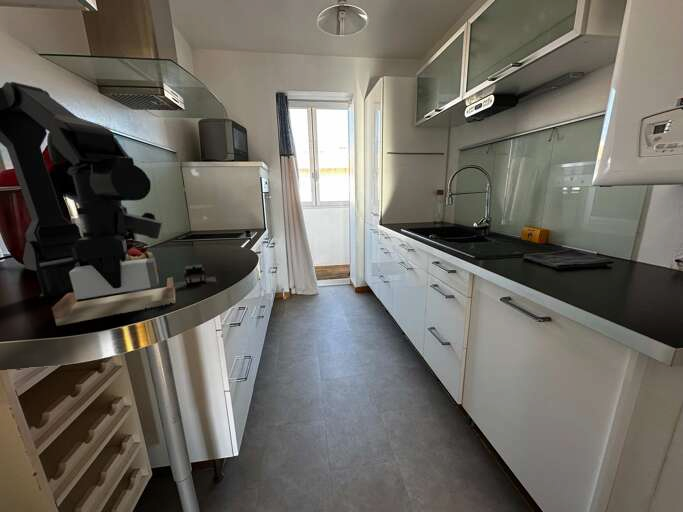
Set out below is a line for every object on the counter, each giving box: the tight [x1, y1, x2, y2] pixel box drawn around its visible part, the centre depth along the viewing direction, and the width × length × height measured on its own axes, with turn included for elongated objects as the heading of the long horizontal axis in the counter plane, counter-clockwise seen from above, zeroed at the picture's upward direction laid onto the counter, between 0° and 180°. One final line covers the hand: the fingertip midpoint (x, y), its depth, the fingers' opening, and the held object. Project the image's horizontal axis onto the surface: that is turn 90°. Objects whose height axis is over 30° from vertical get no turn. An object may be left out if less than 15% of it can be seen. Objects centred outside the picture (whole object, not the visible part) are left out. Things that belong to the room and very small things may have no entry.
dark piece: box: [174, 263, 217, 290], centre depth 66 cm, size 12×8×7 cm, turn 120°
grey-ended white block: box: [69, 257, 160, 301], centre depth 52 cm, size 12×4×5 cm, turn 121°
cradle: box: [51, 276, 176, 327], centre depth 53 cm, size 17×8×3 cm, turn 121°
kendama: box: [126, 247, 160, 274], centre depth 77 cm, size 8×6×18 cm
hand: (119, 284), depth 52 cm, fingers closed on grey-ended white block, 4 cm apart
